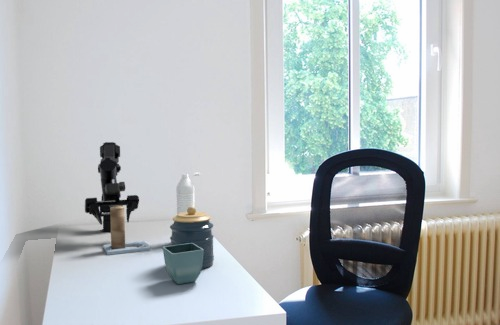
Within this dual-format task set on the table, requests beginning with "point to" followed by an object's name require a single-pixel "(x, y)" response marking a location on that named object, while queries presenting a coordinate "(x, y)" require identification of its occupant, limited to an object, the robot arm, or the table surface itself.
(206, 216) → the canister
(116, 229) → the tan peg
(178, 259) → the flower pot
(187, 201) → the water bottle
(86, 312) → the table surface
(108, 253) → the keyhole plate
